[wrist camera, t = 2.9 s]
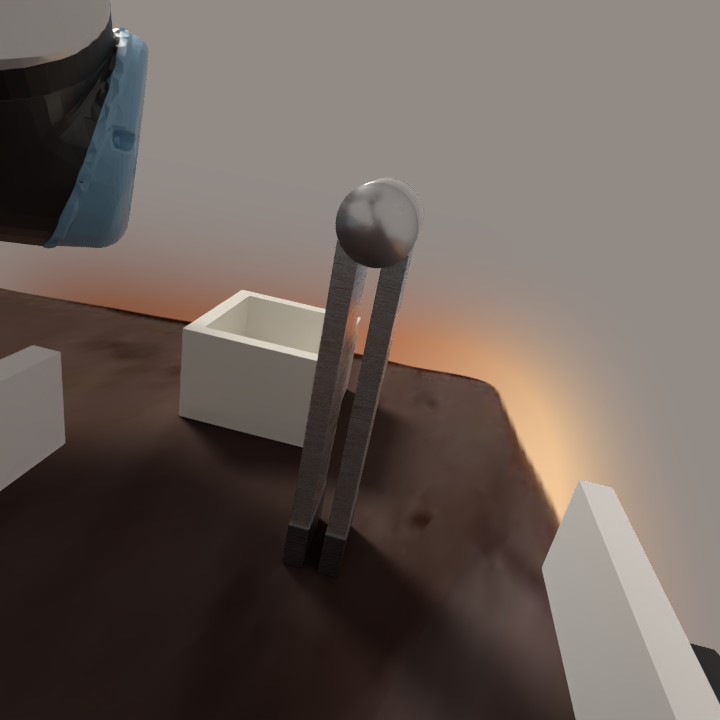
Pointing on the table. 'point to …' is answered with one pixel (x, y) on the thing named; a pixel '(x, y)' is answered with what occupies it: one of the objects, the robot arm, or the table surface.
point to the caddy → (253, 366)
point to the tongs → (352, 258)
